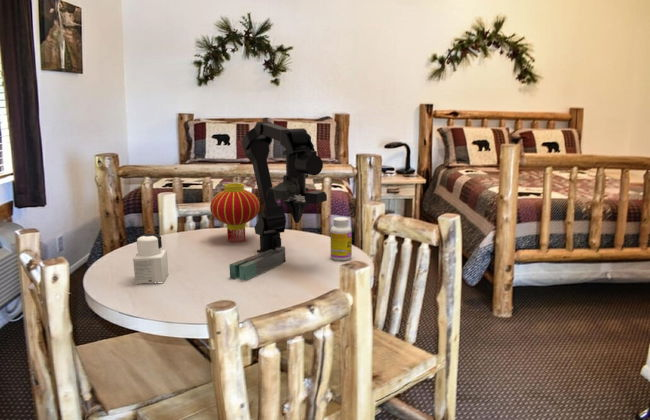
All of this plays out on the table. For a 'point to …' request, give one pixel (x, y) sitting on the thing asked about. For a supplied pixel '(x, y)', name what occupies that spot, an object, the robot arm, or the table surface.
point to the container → (150, 260)
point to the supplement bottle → (341, 239)
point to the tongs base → (235, 266)
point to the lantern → (235, 209)
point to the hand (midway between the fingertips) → (296, 222)
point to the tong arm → (261, 264)
